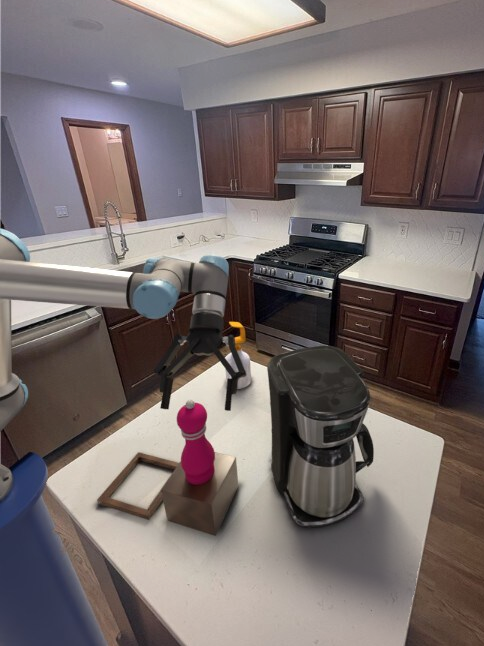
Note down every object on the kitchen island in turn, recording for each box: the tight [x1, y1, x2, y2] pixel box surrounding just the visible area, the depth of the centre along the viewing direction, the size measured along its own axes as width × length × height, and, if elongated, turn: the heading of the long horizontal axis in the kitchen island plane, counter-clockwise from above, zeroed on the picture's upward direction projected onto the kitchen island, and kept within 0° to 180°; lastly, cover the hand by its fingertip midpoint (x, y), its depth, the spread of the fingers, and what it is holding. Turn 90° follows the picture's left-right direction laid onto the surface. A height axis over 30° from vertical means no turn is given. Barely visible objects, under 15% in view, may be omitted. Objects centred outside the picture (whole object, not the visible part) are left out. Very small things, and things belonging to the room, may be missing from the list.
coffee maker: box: [266, 345, 375, 528], centre depth 75 cm, size 23×32×34 cm
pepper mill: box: [176, 399, 216, 485], centre depth 66 cm, size 7×7×20 cm
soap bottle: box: [224, 321, 252, 390], centre depth 112 cm, size 9×9×25 cm
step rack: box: [96, 451, 239, 537], centre depth 74 cm, size 30×14×10 cm, turn 75°
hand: (195, 409), depth 66 cm, fingers open, 13 cm apart
